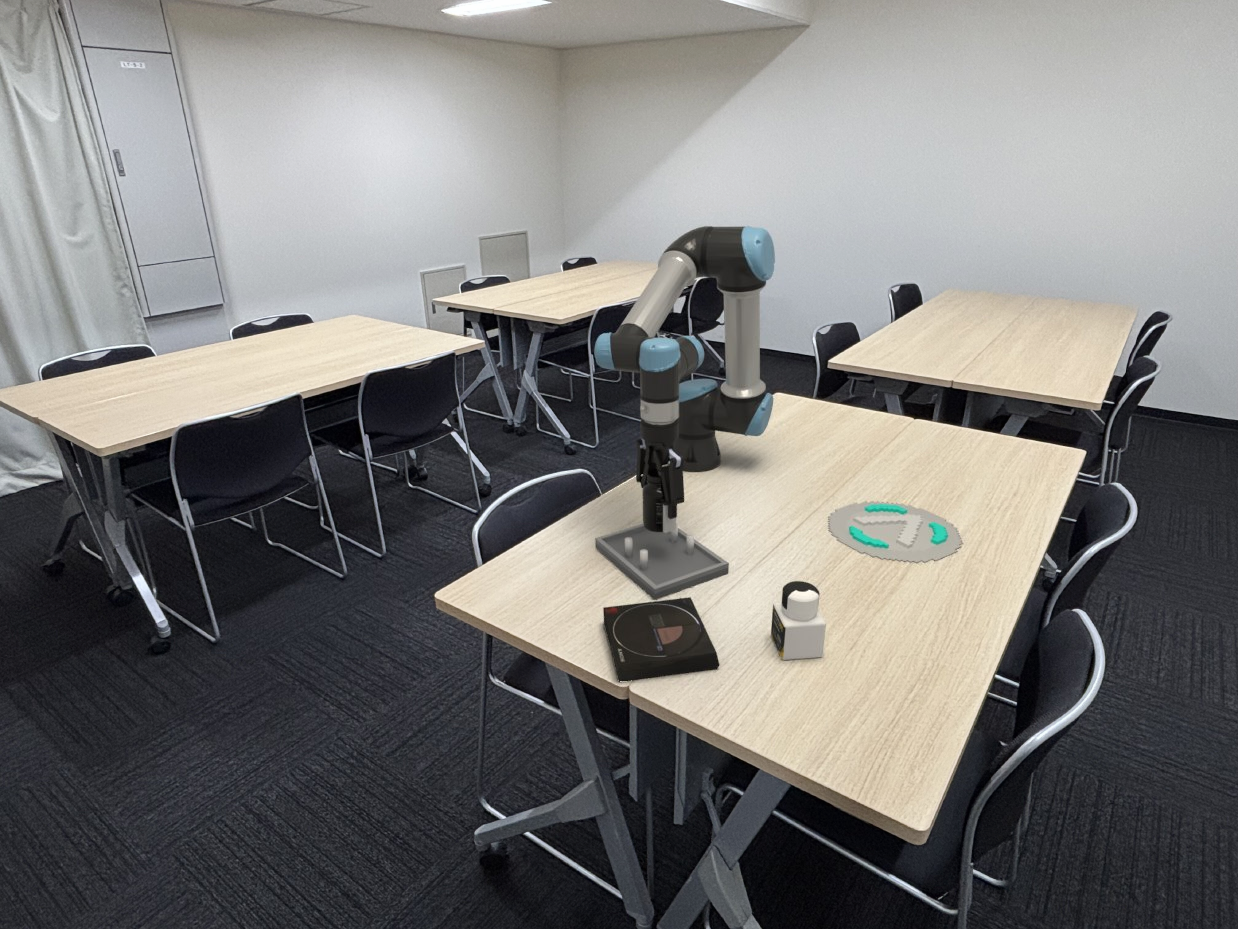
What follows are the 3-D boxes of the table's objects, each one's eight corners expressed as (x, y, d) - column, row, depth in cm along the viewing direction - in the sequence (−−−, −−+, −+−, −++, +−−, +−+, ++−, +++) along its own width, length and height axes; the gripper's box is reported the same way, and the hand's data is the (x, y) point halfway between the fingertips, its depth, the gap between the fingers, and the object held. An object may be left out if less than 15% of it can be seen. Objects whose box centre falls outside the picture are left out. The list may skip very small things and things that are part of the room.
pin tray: (595, 548, 157) (594, 526, 154) (663, 527, 165) (663, 505, 163) (654, 600, 138) (654, 575, 135) (728, 573, 146) (729, 550, 144)
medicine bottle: (770, 635, 127) (774, 577, 122) (809, 632, 127) (814, 575, 122) (781, 661, 120) (786, 601, 115) (823, 658, 120) (829, 598, 116)
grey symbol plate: (987, 541, 157) (988, 534, 156) (901, 578, 144) (902, 571, 143) (884, 495, 179) (885, 489, 178) (802, 523, 166) (803, 517, 165)
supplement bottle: (679, 520, 150) (680, 468, 145) (670, 535, 144) (671, 481, 139) (648, 516, 152) (647, 464, 147) (638, 530, 146) (637, 477, 141)
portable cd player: (719, 671, 119) (720, 651, 117) (618, 684, 116) (618, 665, 115) (693, 614, 134) (693, 596, 132) (603, 625, 131) (603, 607, 130)
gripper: (617, 409, 145) (619, 510, 154) (672, 437, 129) (671, 548, 138) (648, 402, 148) (648, 501, 157) (705, 429, 133) (702, 538, 141)
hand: (659, 523), depth 148 cm, fingers closed on supplement bottle, 7 cm apart
